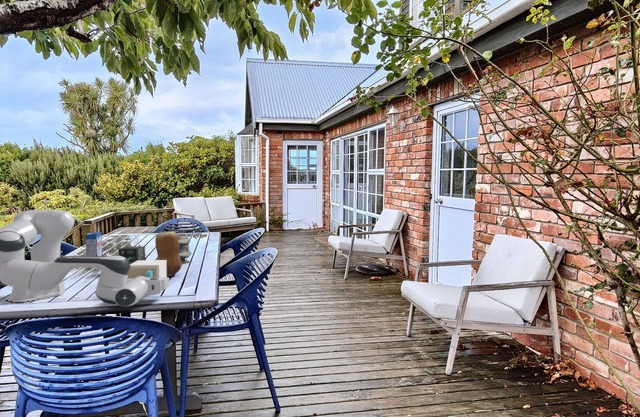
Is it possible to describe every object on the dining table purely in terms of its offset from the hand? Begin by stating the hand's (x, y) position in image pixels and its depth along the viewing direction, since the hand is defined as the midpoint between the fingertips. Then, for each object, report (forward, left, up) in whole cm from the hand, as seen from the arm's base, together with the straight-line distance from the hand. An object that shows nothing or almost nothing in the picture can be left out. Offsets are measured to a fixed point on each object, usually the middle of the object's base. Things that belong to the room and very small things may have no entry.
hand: (150, 279), depth 179 cm
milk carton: (+33, +86, -7) cm, 92 cm away
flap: (-2, +3, -6) cm, 7 cm away
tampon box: (+28, +46, -7) cm, 54 cm away
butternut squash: (+29, +19, -7) cm, 35 cm away
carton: (+6, +8, -7) cm, 12 cm away
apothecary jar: (+60, +40, -7) cm, 72 cm away
